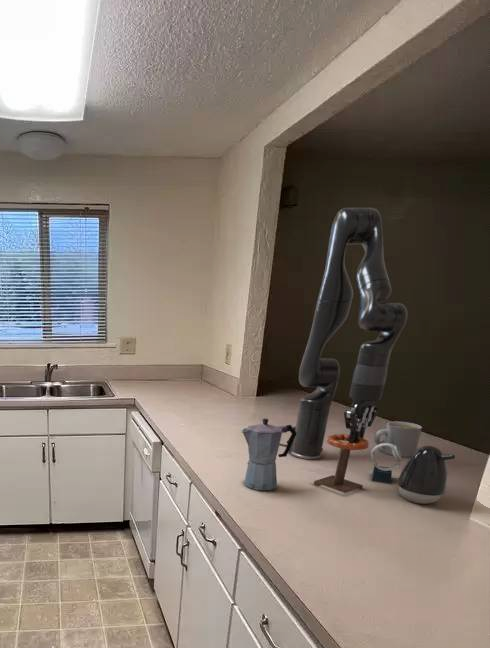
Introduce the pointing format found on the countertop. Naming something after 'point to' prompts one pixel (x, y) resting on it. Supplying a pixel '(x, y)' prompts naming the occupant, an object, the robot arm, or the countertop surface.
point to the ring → (336, 442)
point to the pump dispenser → (424, 475)
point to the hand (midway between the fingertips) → (355, 442)
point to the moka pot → (264, 453)
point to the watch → (384, 472)
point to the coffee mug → (400, 437)
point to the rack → (339, 476)
